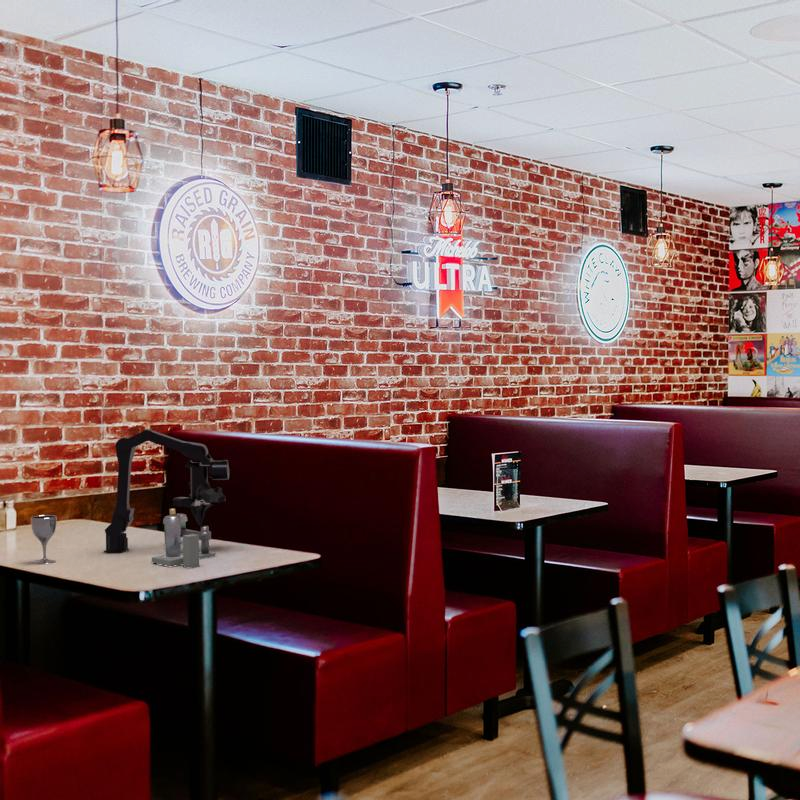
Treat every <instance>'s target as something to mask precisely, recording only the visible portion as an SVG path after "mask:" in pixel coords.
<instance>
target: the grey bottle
mask: <svg viewBox="0 0 800 800" xmlns="http://www.w3.org/2000/svg"><path fill="white" fill-rule="evenodd" d="M164 518H165V534H164V543H165V542H166V545H165V555H166V557H169V558H173V557H180V556H181V554H182V548H181V547H182V546H181V545H182V544H181V542H180V538H181V532H180V516H179V515H177V514H176V508H169V515H166V516H164Z"/></svg>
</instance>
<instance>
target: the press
mask: <svg viewBox="0 0 800 800" xmlns="http://www.w3.org/2000/svg"><path fill="white" fill-rule="evenodd" d="M180 542H181V543H183V544H182V553H181V556H180V557H173V558H169V557H166V554H164V555H158V556H152V557H151V563H152V562H153V563H158V564H162V565H167V566H174V565H179V566H185V567H184V568H186V567H192V568H195V567H194V566H198V567H200V559H199V558H202V559H206V558H205V557H208V558H211V557H210V556H213V557H216V556H217V553H216V552H212V551H211V552H210V551H209V553H201V552H200V540H199V535H196V534H190V535H183V537H181V538H180ZM215 555H216V556H215ZM181 564H183V565H181ZM162 565H161V566H162ZM174 567H175V566H174Z"/></svg>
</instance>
